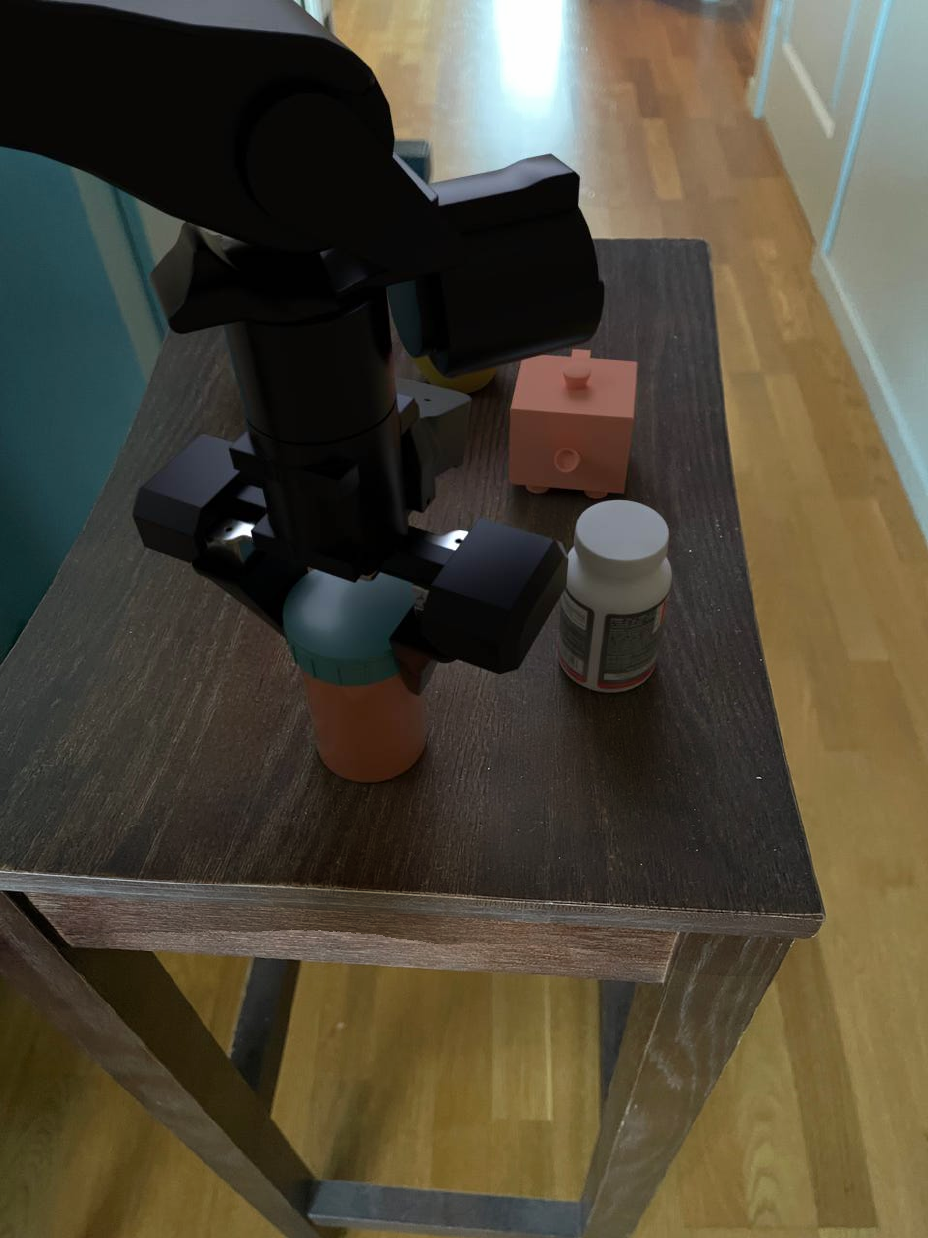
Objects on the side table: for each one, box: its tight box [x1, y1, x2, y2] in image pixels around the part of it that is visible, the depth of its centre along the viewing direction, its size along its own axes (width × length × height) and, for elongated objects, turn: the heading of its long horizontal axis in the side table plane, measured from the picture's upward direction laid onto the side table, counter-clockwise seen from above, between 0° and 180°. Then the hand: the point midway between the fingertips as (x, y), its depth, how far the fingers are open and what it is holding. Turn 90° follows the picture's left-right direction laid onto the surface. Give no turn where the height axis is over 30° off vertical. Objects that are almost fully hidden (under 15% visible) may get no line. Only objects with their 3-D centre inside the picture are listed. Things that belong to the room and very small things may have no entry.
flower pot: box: [410, 356, 502, 394], centre depth 71 cm, size 10×10×7 cm
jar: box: [299, 667, 428, 784], centre depth 46 cm, size 6×6×10 cm
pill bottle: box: [557, 499, 673, 693], centre depth 49 cm, size 6×6×10 cm
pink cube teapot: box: [508, 348, 639, 500], centre depth 62 cm, size 8×12×8 cm, turn 171°
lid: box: [283, 569, 417, 686], centre depth 43 cm, size 7×7×2 cm
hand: (364, 667), depth 46 cm, fingers closed on lid, 6 cm apart
